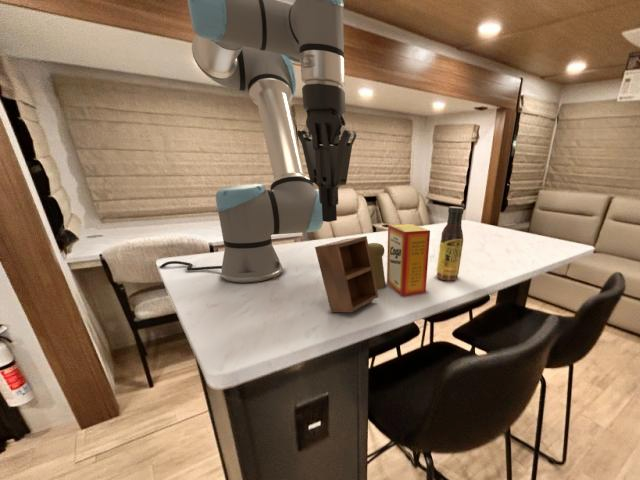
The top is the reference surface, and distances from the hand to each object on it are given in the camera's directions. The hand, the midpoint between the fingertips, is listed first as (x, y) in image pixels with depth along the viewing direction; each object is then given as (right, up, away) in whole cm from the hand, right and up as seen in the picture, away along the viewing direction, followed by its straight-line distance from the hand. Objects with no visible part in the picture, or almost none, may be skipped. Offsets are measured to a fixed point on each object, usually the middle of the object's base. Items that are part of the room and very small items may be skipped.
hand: (329, 220), depth 65 cm
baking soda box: (+16, -14, +16) cm, 27 cm away
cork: (+8, -13, +18) cm, 23 cm away
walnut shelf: (+1, -11, +3) cm, 12 cm away
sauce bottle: (+29, -11, +25) cm, 39 cm away
